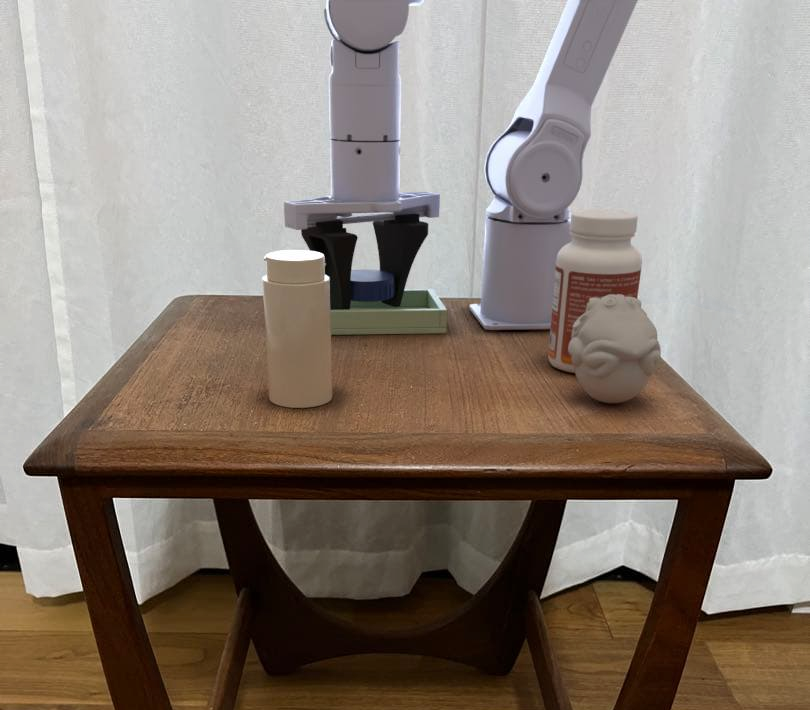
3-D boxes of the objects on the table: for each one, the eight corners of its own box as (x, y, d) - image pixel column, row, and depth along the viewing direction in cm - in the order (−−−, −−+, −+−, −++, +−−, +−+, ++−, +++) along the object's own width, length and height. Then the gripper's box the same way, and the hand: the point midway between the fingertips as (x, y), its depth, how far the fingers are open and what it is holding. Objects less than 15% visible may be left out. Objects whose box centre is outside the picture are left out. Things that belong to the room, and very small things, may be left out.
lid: (327, 291, 78) (326, 271, 77) (380, 286, 80) (380, 267, 79) (349, 304, 74) (349, 283, 73) (404, 299, 76) (404, 279, 75)
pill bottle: (645, 369, 67) (668, 216, 61) (586, 382, 64) (605, 222, 58) (588, 350, 71) (604, 205, 66) (530, 361, 68) (543, 210, 63)
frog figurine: (629, 382, 64) (643, 285, 61) (671, 415, 58) (689, 309, 54) (549, 385, 63) (559, 286, 60) (583, 419, 57) (596, 311, 54)
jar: (330, 386, 62) (326, 248, 57) (334, 407, 58) (331, 261, 54) (268, 388, 61) (260, 249, 57) (269, 409, 57) (260, 262, 53)
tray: (432, 310, 82) (433, 288, 81) (446, 333, 75) (447, 310, 74) (291, 312, 81) (290, 290, 80) (291, 335, 74) (290, 311, 73)
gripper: (314, 145, 64) (319, 329, 71) (465, 141, 72) (457, 307, 78) (267, 139, 69) (276, 311, 76) (413, 135, 77) (410, 292, 83)
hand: (365, 308), depth 77 cm, fingers closed on lid, 5 cm apart
